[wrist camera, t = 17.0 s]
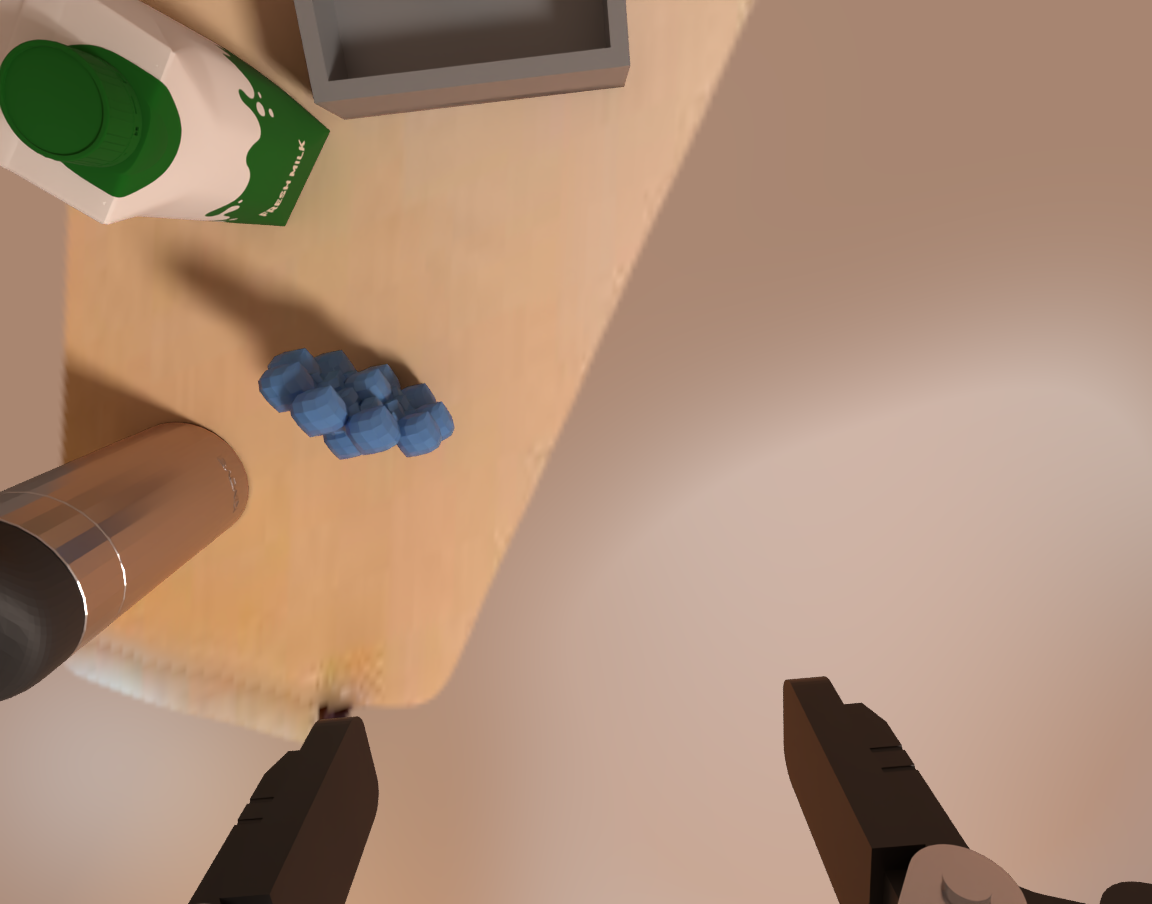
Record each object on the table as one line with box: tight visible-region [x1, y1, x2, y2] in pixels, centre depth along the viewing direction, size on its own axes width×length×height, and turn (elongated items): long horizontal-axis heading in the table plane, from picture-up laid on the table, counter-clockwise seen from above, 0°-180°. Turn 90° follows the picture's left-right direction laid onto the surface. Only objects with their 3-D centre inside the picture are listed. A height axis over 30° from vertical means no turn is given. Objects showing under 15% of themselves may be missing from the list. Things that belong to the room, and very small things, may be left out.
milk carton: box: [0, 0, 330, 226], centre depth 33 cm, size 9×9×20 cm
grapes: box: [258, 348, 454, 460], centre depth 41 cm, size 12×7×12 cm, turn 63°
